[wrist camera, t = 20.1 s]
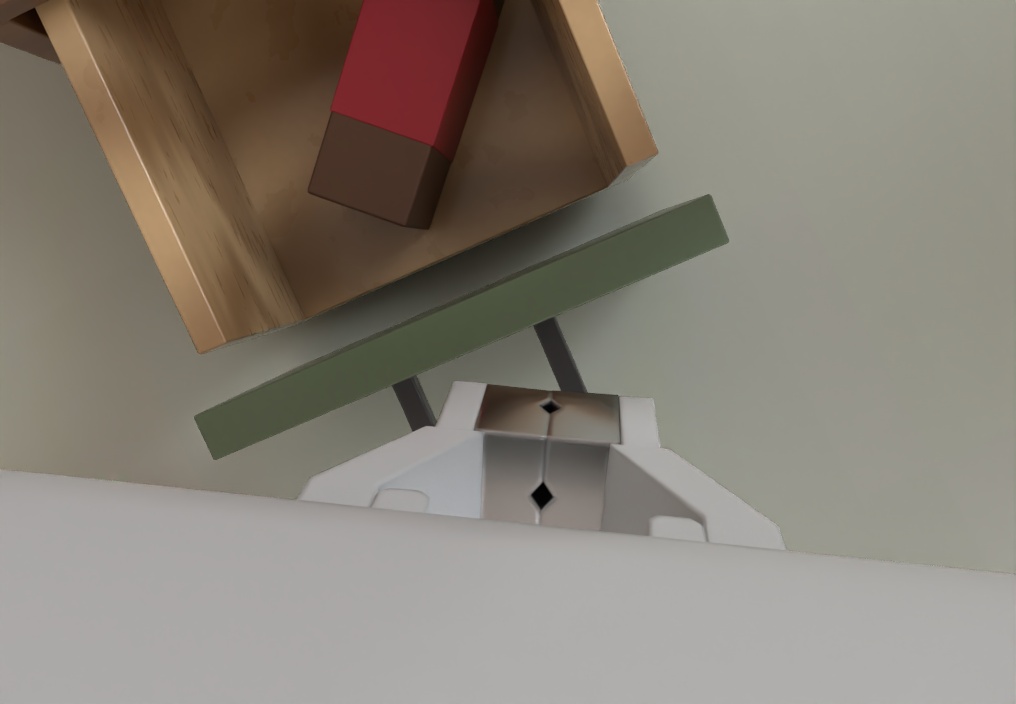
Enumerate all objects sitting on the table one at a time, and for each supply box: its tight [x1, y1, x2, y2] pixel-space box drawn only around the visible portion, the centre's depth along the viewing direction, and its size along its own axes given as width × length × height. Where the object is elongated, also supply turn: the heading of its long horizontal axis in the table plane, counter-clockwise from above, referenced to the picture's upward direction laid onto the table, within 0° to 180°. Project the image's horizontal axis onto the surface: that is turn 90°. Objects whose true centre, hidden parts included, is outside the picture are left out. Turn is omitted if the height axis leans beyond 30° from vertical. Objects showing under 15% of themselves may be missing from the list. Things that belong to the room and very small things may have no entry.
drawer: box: [35, 0, 729, 460], centre depth 23 cm, size 19×13×8 cm
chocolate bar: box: [307, 0, 505, 230], centre depth 23 cm, size 4×3×8 cm
